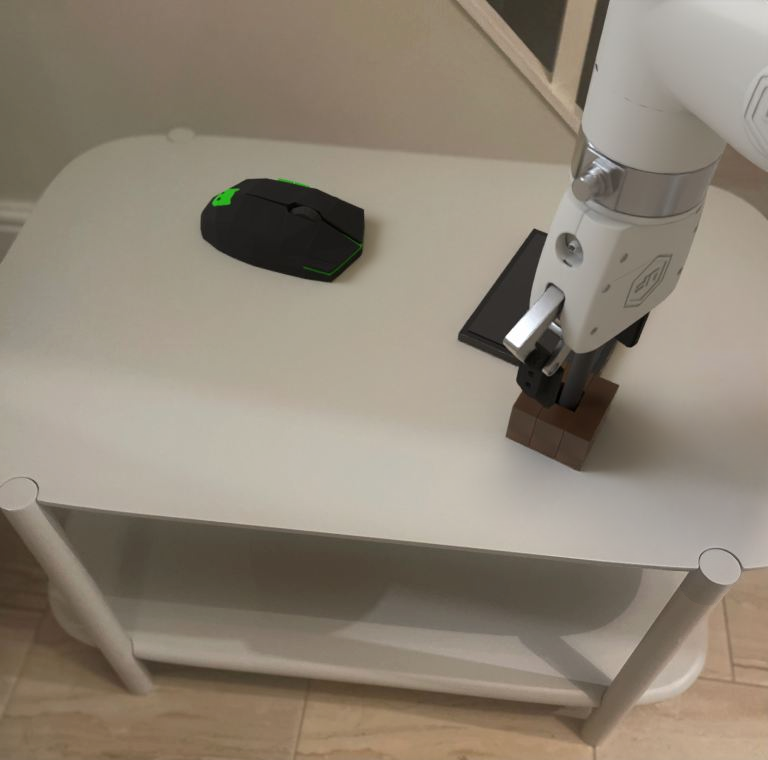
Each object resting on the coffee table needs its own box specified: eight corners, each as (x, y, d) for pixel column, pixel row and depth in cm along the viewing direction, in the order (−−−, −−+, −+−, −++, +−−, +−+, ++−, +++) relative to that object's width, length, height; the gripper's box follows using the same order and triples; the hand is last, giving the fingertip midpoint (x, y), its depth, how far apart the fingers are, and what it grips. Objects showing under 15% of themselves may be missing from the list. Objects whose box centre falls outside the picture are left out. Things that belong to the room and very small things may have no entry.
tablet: (650, 280, 74) (653, 272, 73) (587, 397, 65) (589, 389, 64) (532, 234, 77) (533, 226, 76) (457, 339, 69) (458, 332, 68)
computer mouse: (233, 176, 82) (228, 144, 79) (383, 212, 79) (384, 179, 76) (181, 246, 75) (172, 213, 72) (342, 288, 72) (341, 256, 69)
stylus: (571, 426, 63) (608, 325, 54) (564, 438, 62) (600, 339, 53) (554, 417, 64) (588, 317, 54) (547, 430, 63) (580, 330, 53)
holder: (607, 415, 64) (619, 384, 61) (578, 471, 60) (590, 442, 57) (536, 384, 66) (545, 352, 63) (504, 436, 62) (512, 406, 59)
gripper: (588, 266, 38) (530, 462, 52) (792, 134, 45) (693, 338, 59) (480, 188, 42) (452, 391, 55) (685, 78, 49) (615, 282, 62)
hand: (577, 363), depth 57 cm, fingers open, 8 cm apart
